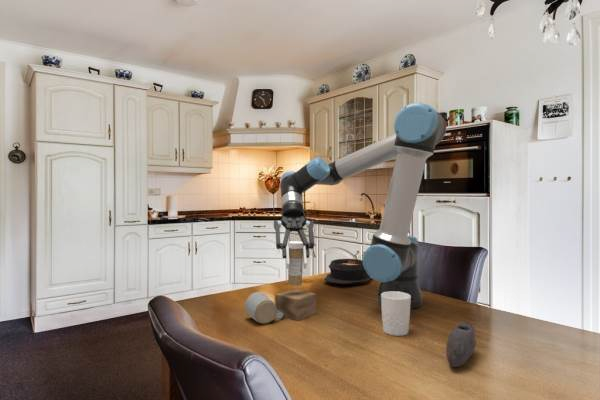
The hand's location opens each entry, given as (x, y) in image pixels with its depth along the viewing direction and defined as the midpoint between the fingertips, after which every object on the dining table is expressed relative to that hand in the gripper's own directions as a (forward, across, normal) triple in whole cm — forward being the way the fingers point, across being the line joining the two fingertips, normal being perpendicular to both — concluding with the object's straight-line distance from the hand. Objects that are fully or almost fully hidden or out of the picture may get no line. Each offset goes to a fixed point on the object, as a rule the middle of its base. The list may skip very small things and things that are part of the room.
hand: (296, 265), depth 116 cm
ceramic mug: (+12, +9, -11) cm, 19 cm away
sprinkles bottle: (+2, 0, -7) cm, 8 cm away
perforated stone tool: (+34, -34, +11) cm, 50 cm away
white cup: (+21, -26, -2) cm, 33 cm away
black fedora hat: (-20, -26, -43) cm, 54 cm away
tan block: (+8, 0, -14) cm, 16 cm away
